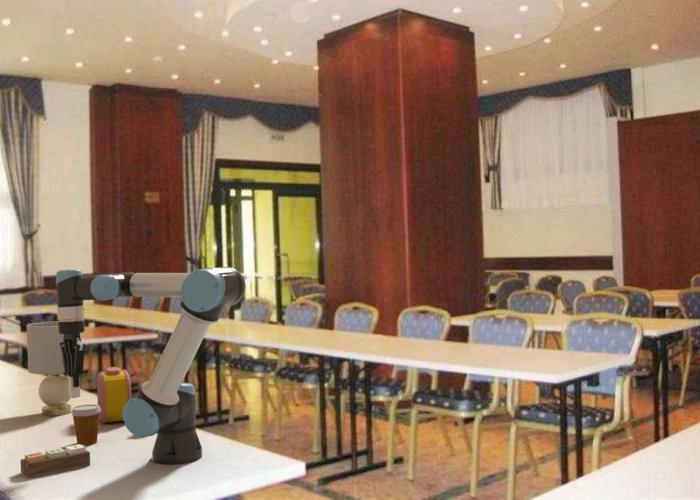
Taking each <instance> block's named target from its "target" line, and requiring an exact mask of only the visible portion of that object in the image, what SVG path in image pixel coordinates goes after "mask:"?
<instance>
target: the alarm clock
mask: <svg viewBox="0 0 700 500" xmlns="http://www.w3.org/2000/svg"><path fill="white" fill-rule="evenodd" d="M96 377H97V378H96V392H97V393H96V395H97V397H96V398H97V405H99V406H100V409H101V411H100V416H99V421H100V422H101V423H103V424H107V423H116V422H124V420H123V409H124V406H125V404H126V403H127V402H128V401H130V400H131V399H132V382H131V376H130V374H129V373H128V370H127V369H121V368H119V367H118V366H117V367H116V366H111V367H107V368H106V369H105V371H100V372H98V374H97V376H96Z"/></svg>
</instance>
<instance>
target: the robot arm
mask: <svg viewBox="0 0 700 500" xmlns="http://www.w3.org/2000/svg"><path fill="white" fill-rule="evenodd" d="M55 286H56V287H55V288H56V289H55V290H56V301H57V307H56V309H57V310H56V311H57V320H58V321H60V322H59V323H58V330H59V334H64V337H63V342H60V347H61V351H62V357H63V364H64V371H65V374H67V375H66V376H67V377H68V378H69V395H70V398H71V399H76V398H80V397H81V386H80V383H81V382H80V376H81V375H83V374H84V362H85V359H84V358H85V349H86V344H85V343H81V341H82V336H81V337H80V333H81V334H82V333H84V332H85V331H86V330H85V329H86V328H85V321H84V320H83V319H84V318H85V316H84V315H85V312H84V311H85V308H84V301H109V300H114V299H115V298H180V299H181V302H180V304H179V307H180V308H181V314H180V316H179V318H178V321H177V322H176V324H175V327H174V329H173V330H172V333H171V335H170V337H169V340H168V341H167V343H166V346H165V348H164V350H163V352H162V353H161V356H160V358H159V360H158V362H157V364H156V366H155V369H154V371H153V372H152V375H151V377H150V379H149V380H147V381H144V382H143V383H142V384H141V386H140V388H139V389H138V393H137V394H136V396H135V397H133V398H131V400H130V401H128V402H127V403H126V404H125V406H124V409H123V420H124V421H123V422H124V425H125V427H126V429H127V430H128V431H129V432H130V433H131V434H132V435H133V436H135V437H138V438H148V437H152V436H155V435H156V434H157V435H156V438H155V441H154V445H153V448H152V454H151V457H152V459H151V460H152V461H153V462H154V463H158V464H166V465H170V464H171V465H174V464H175V465H176V464H185V463H190V462H194V461H196V460H199V459H200V458H202V457H203V447H202V445H201V442H200V439H199V435H198V433H197V426H196V425H197V421H196V419H197V417H196V397H197V396H196V390H195V386H194V385H193V384H192V383H188V382H183V381H184V379H185V377H186V374H187V372H188V371H189V369H190V367H191V365H192V362H193V361H194V358H195V356H196V354H197V352H198V350H199V348H200V346H201V344H202V341H203V340H204V338H205V335H206V334H207V331H208V329H209V328H210V325H212V324H215V323H217V322H218V321H219V319H220V317H221V315H222V313H223V310H224V309H225V308H226V307H230V306H234V305H236V304H237V303H239V302H240V301H241V300H242V298H243V297H244V295H245V292H246V287H247V285H246V280H245V278H244V275H242V273H241V272H240V271H238V269H236V268H233V267H229V266H220V267H203V268H199V269H196V270H193V271H192V272H136V273H135V272H131V271H130V272H129V271H127V272H126V271H125V272H119V273H118V272H117V273H107V274H96V275H95V274H91V275H83V271H82V270H81V269H78V268H77V269H74V268H73V269H63V270H60V269H59V270H58V271H56V277H55Z"/></svg>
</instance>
